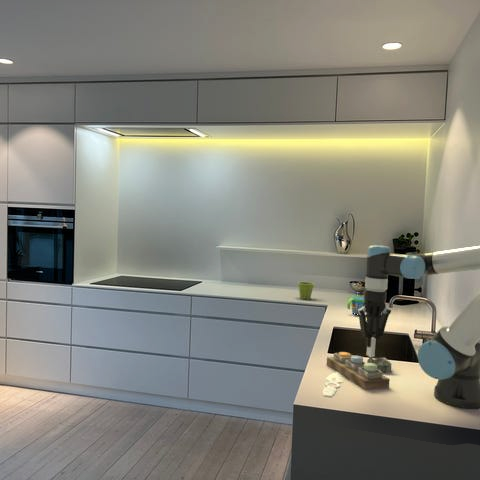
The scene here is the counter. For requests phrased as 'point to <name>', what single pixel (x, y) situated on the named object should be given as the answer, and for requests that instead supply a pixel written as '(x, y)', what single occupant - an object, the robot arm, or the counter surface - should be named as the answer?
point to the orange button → (344, 354)
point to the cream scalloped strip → (330, 390)
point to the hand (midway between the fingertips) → (370, 355)
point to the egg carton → (381, 363)
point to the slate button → (356, 360)
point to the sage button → (370, 367)
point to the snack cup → (356, 303)
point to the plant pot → (305, 290)
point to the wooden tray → (357, 373)
